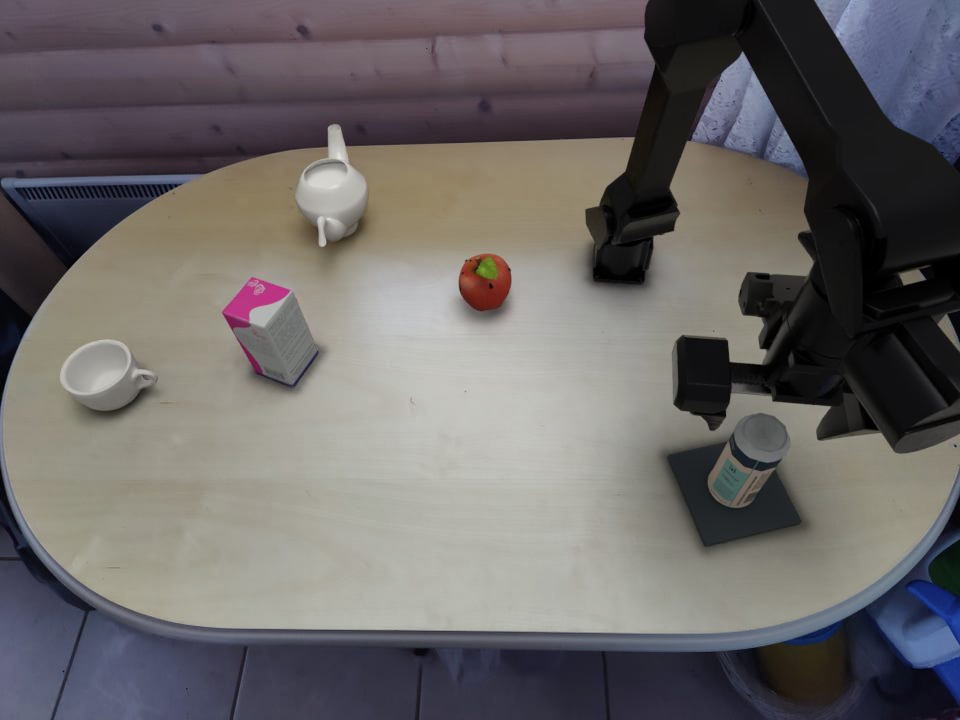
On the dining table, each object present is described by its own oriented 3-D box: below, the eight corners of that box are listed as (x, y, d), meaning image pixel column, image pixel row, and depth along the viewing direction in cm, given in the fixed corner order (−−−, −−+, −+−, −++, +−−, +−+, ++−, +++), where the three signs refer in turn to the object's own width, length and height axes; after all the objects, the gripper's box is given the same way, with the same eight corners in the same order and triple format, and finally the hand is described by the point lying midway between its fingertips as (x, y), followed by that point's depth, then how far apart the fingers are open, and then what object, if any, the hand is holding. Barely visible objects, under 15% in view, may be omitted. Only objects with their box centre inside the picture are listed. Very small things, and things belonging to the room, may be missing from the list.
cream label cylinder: (757, 473, 70) (796, 416, 60) (751, 515, 68) (791, 463, 58) (710, 460, 71) (740, 402, 61) (702, 501, 69) (733, 448, 59)
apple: (447, 301, 86) (439, 245, 78) (488, 273, 88) (484, 216, 80) (487, 337, 82) (484, 283, 74) (528, 306, 85) (529, 251, 76)
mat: (704, 547, 67) (706, 545, 66) (667, 457, 72) (668, 454, 72) (800, 523, 68) (802, 521, 67) (755, 436, 73) (757, 434, 73)
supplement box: (320, 350, 83) (294, 289, 73) (293, 389, 80) (263, 330, 70) (281, 335, 84) (251, 274, 75) (253, 372, 81) (218, 313, 72)
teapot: (297, 281, 89) (276, 230, 81) (316, 178, 100) (299, 125, 93) (369, 278, 89) (355, 227, 81) (381, 175, 100) (369, 121, 92)
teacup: (75, 419, 79) (48, 395, 74) (99, 364, 83) (75, 338, 79) (158, 420, 78) (136, 396, 74) (178, 364, 82) (158, 338, 78)
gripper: (944, 248, 51) (859, 364, 64) (689, 234, 53) (656, 348, 66) (985, 373, 45) (882, 473, 58) (695, 350, 47) (658, 451, 60)
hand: (764, 430), depth 61 cm, fingers open, 9 cm apart
